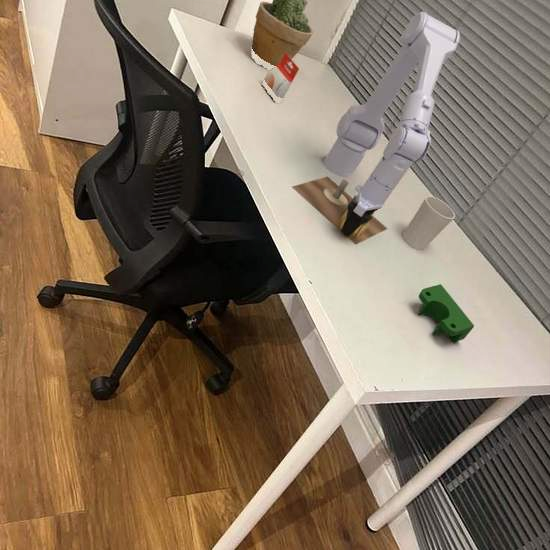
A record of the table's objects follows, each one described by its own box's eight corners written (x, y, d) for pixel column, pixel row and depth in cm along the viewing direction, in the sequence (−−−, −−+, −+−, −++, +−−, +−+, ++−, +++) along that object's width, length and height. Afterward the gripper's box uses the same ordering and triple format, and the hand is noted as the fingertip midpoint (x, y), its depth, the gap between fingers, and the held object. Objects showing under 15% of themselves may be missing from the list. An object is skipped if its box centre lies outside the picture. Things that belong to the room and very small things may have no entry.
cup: (425, 245, 137) (455, 209, 130) (423, 261, 130) (454, 223, 123) (398, 229, 137) (426, 191, 130) (394, 243, 130) (424, 204, 123)
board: (325, 180, 138) (336, 161, 134) (384, 232, 132) (398, 214, 129) (289, 190, 126) (300, 170, 122) (353, 248, 120) (367, 228, 117)
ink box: (274, 102, 159) (291, 66, 152) (260, 85, 164) (277, 49, 157) (281, 104, 161) (299, 69, 154) (268, 87, 166) (285, 52, 159)
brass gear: (346, 218, 126) (355, 205, 123) (364, 234, 124) (373, 221, 122) (333, 224, 121) (342, 210, 119) (352, 240, 120) (362, 227, 117)
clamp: (406, 324, 117) (412, 286, 113) (427, 318, 119) (434, 280, 115) (447, 353, 107) (456, 313, 103) (469, 346, 110) (479, 306, 106)
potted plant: (244, 41, 186) (276, -34, 171) (293, 67, 189) (328, -4, 175) (236, 58, 171) (270, -23, 157) (289, 85, 175) (328, 9, 160)
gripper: (377, 160, 121) (346, 207, 129) (357, 178, 109) (323, 228, 117) (404, 178, 120) (370, 225, 128) (386, 198, 108) (350, 248, 116)
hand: (350, 228), depth 122 cm, fingers closed on brass gear, 6 cm apart
